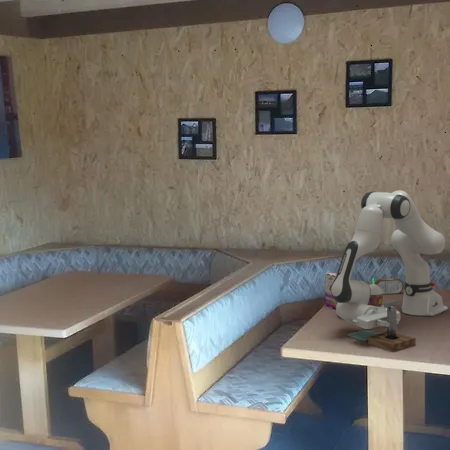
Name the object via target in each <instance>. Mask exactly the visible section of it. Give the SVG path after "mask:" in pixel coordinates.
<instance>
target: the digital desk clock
mask: <svg viewBox="0 0 450 450" xmlns="http://www.w3.org/2000/svg"><path fill="white" fill-rule="evenodd" d="M374 284H376V285H378V286H379V287H380V288H381V290H382V291H383V296H384V295H398V294H401V292H402V291H403V290H404V282H403V281H402V280H401V279H400V278H399V277H384V278H383V277H382V278H378V279H377V280H376V281H374Z"/></svg>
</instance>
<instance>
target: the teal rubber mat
mask: <svg viewBox="0 0 450 450" xmlns="http://www.w3.org/2000/svg"><path fill="white" fill-rule="evenodd" d="M377 334H378V333H376V332H372V331H371V330H370V331H369V330H368V329H363V330H362V329H361V330H359V331H355V332H351V333H348V334H346V335H347V336H348V337H350V338H354V339H355V340H356V339H357V340H360V341H362V342H367V341H368V337H370V336H373V335H377Z"/></svg>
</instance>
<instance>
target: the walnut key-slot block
mask: <svg viewBox="0 0 450 450" xmlns="http://www.w3.org/2000/svg"><path fill="white" fill-rule="evenodd" d="M376 334H377V335H373V336H370V337H368V340H367V341H368V345H370V346H374V347H376V348H379V349H382V350H385V351H388V352H392V353H395V352H398V351H401V350H405V349H408V348H412V347H414V346H416V341H417V340H416V339H417V338H416V337H413V336H410V335H407V334H404V333H400V332H398V331H396V339H394V340H391V339H388V338H387V331H384V332H381V333H376Z"/></svg>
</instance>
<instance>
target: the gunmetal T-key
mask: <svg viewBox="0 0 450 450" xmlns="http://www.w3.org/2000/svg"><path fill="white" fill-rule="evenodd" d="M400 302H401V301H400V300H399V299H393V300H388V301H384V302H383V306H384V307H385V308H387V321H388V322H390V326H388V327H386V332H387V338H388V339H391V340H394V339H396V332H397V324H396V310H397V306H400Z"/></svg>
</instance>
